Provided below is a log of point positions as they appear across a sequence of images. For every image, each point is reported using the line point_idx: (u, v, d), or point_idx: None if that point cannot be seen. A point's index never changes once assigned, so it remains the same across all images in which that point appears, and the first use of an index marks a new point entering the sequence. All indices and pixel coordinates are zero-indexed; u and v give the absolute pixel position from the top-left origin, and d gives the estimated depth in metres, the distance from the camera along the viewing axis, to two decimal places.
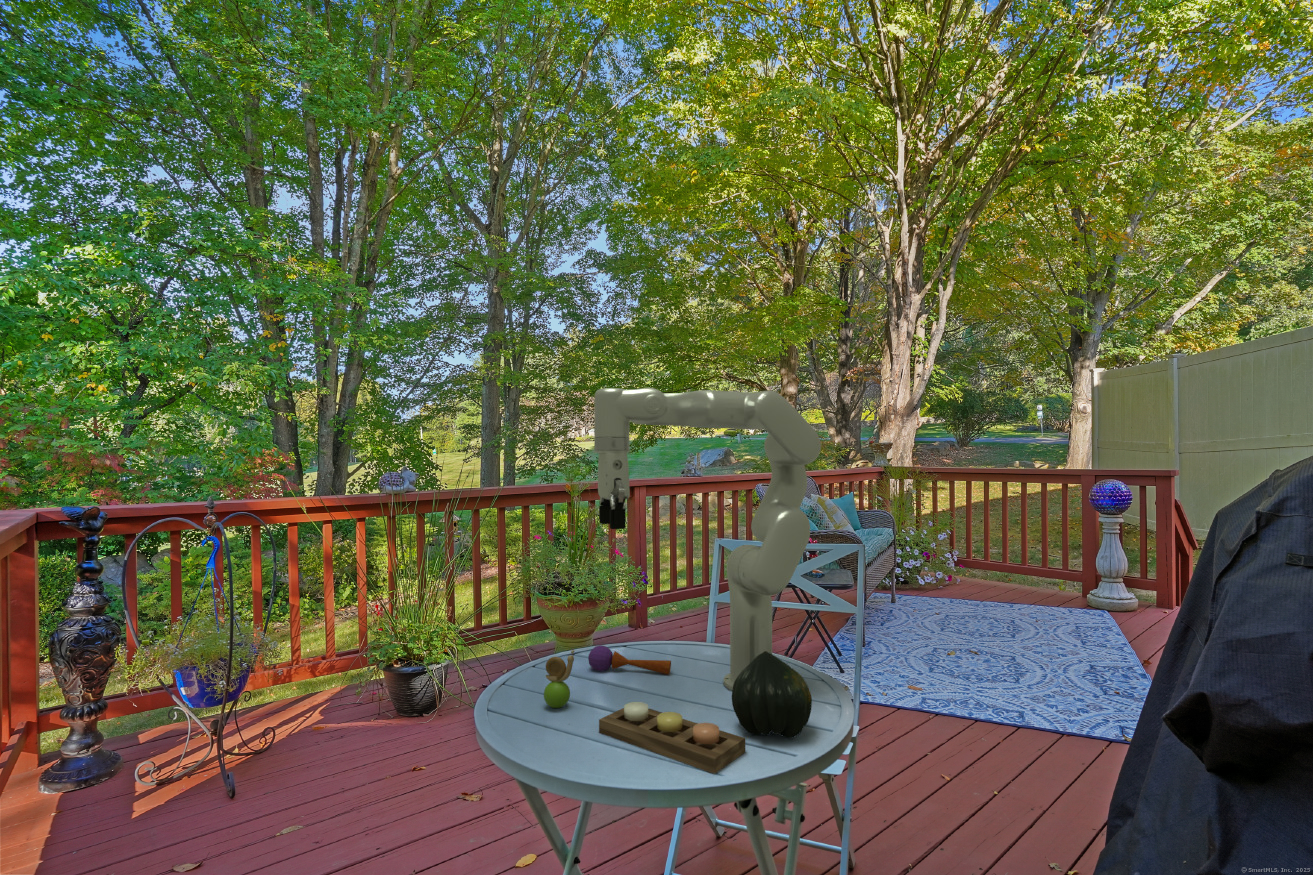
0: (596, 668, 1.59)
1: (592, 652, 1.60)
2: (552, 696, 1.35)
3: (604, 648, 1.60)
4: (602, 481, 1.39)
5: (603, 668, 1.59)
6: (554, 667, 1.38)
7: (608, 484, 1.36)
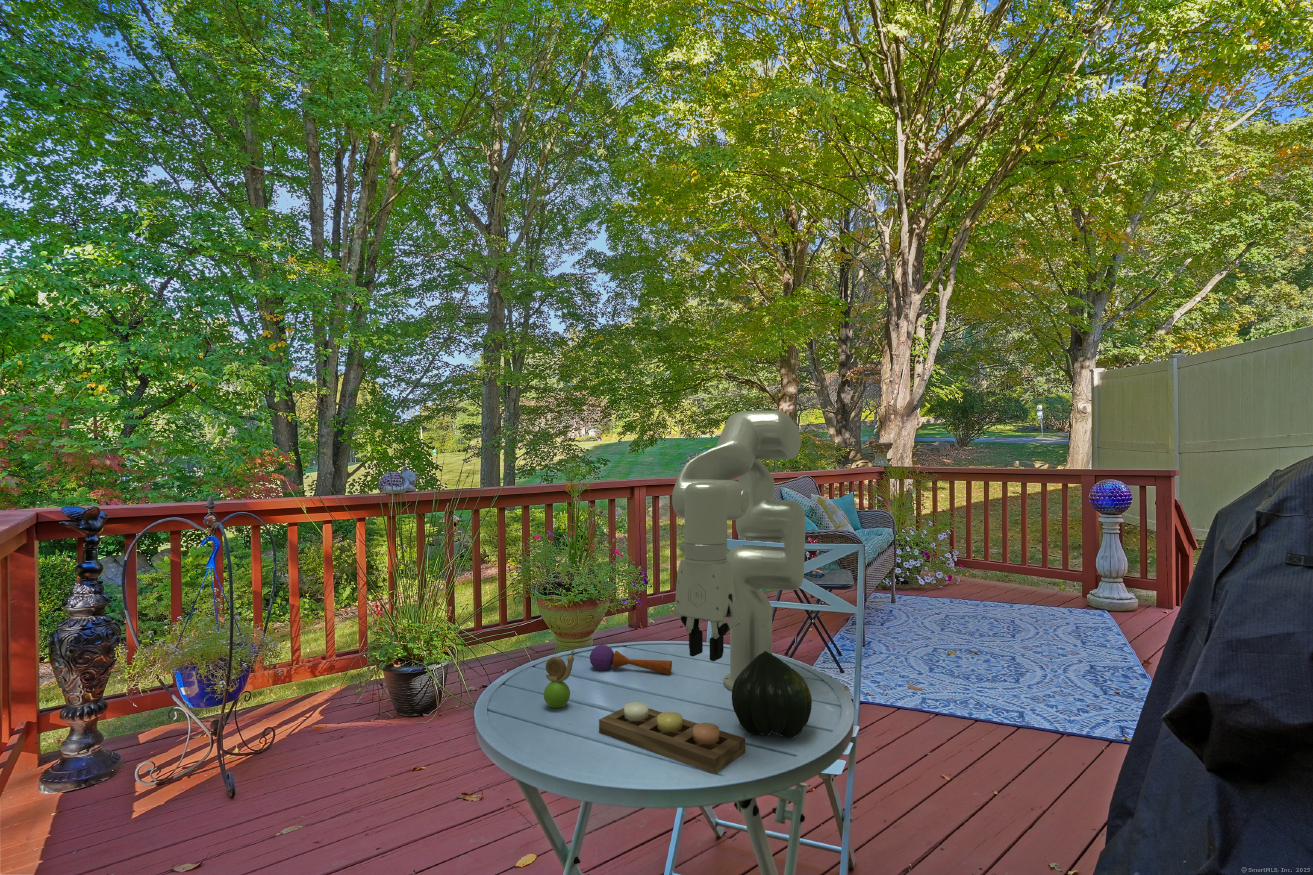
0: (597, 667, 1.60)
1: (593, 651, 1.60)
2: (552, 696, 1.35)
3: (605, 647, 1.61)
4: None
5: (604, 667, 1.59)
6: (554, 667, 1.38)
7: None
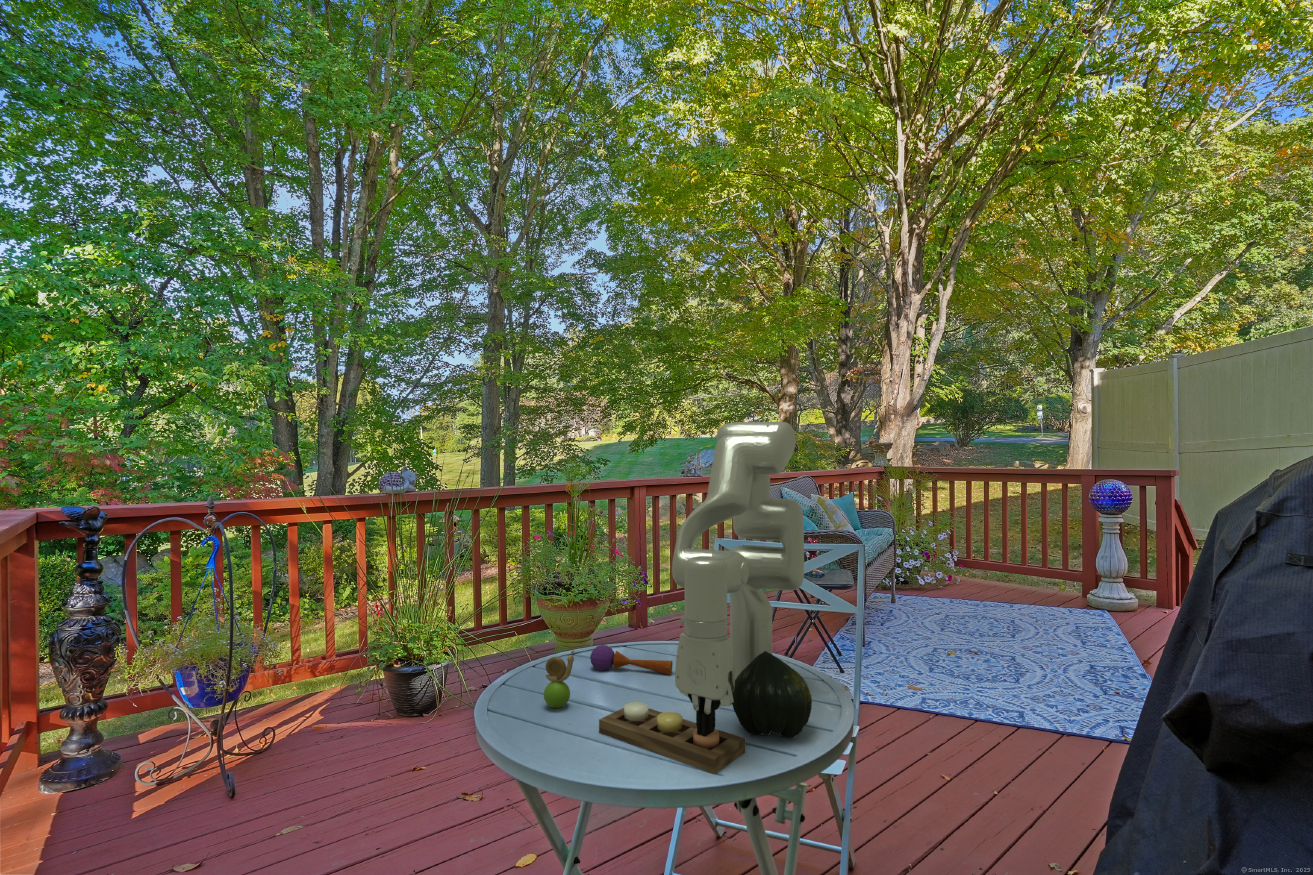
0: (598, 667, 1.59)
1: (594, 651, 1.60)
2: (552, 696, 1.35)
3: (606, 648, 1.61)
4: None
5: (605, 667, 1.59)
6: (554, 667, 1.38)
7: None
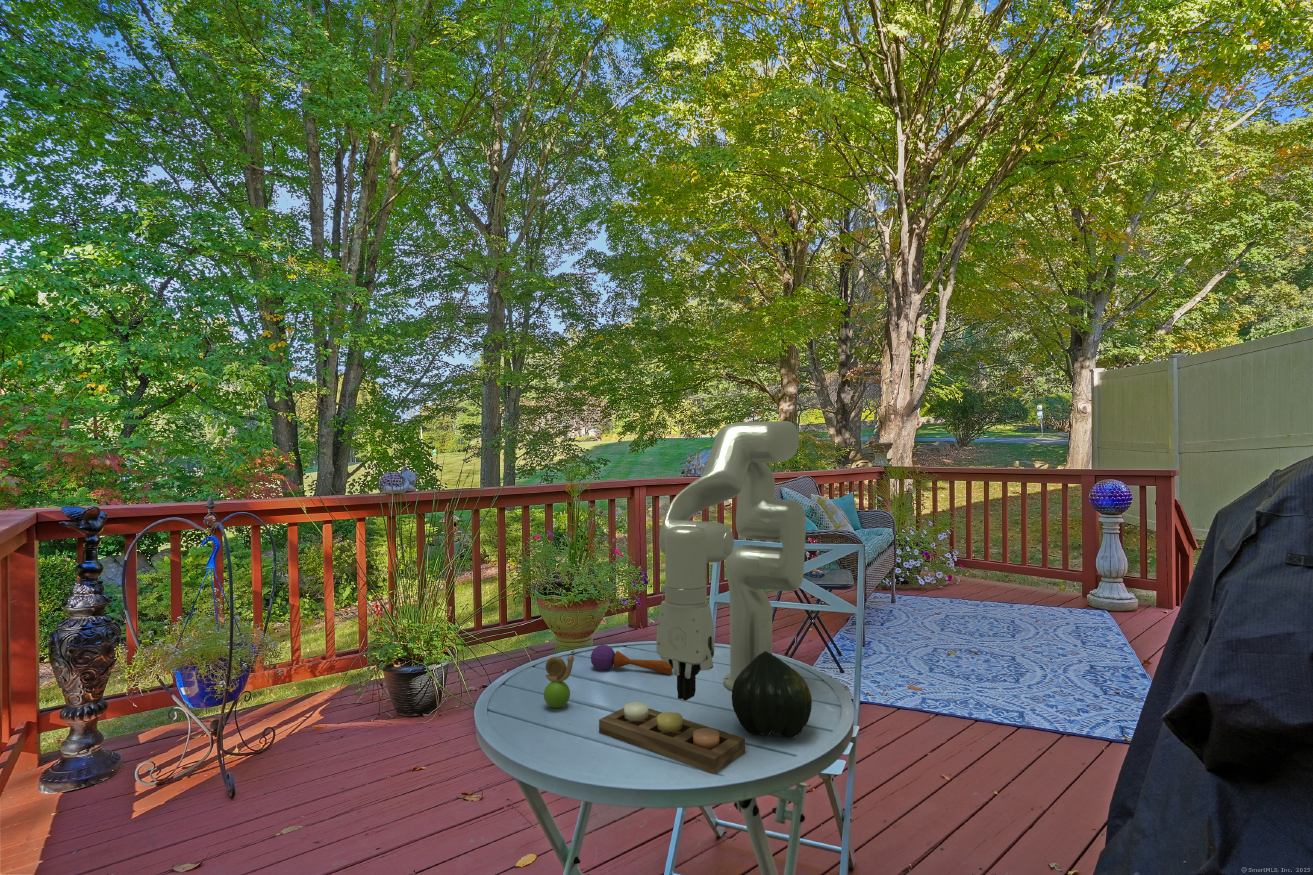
0: (598, 667, 1.59)
1: (594, 651, 1.60)
2: (552, 696, 1.35)
3: (606, 647, 1.61)
4: None
5: (605, 667, 1.59)
6: (554, 667, 1.38)
7: None
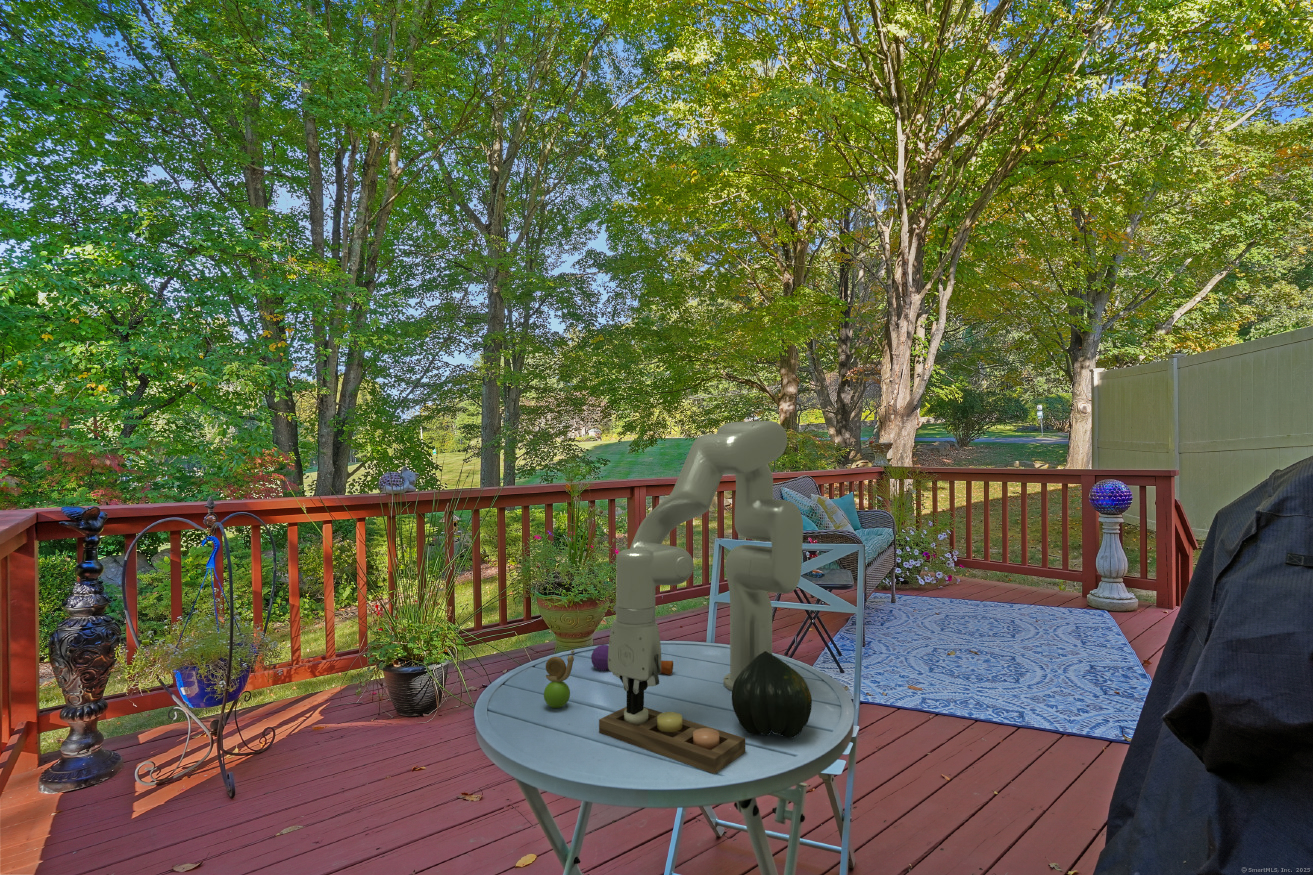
0: (598, 667, 1.59)
1: (595, 651, 1.60)
2: (552, 696, 1.35)
3: (607, 647, 1.61)
4: None
5: (606, 667, 1.59)
6: (554, 667, 1.38)
7: None
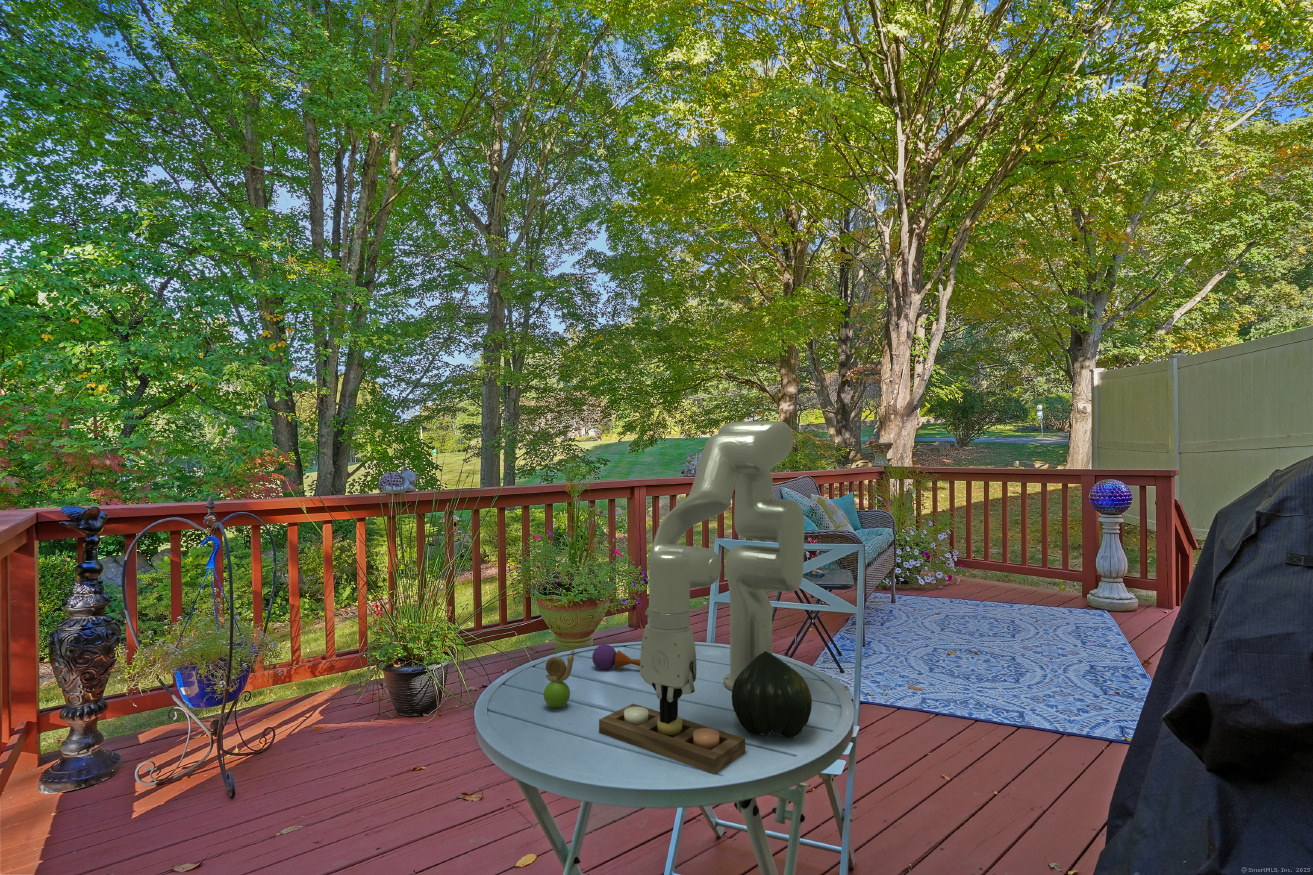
0: (599, 667, 1.60)
1: (596, 651, 1.61)
2: (552, 696, 1.35)
3: (608, 647, 1.61)
4: None
5: (606, 667, 1.60)
6: (554, 667, 1.38)
7: None
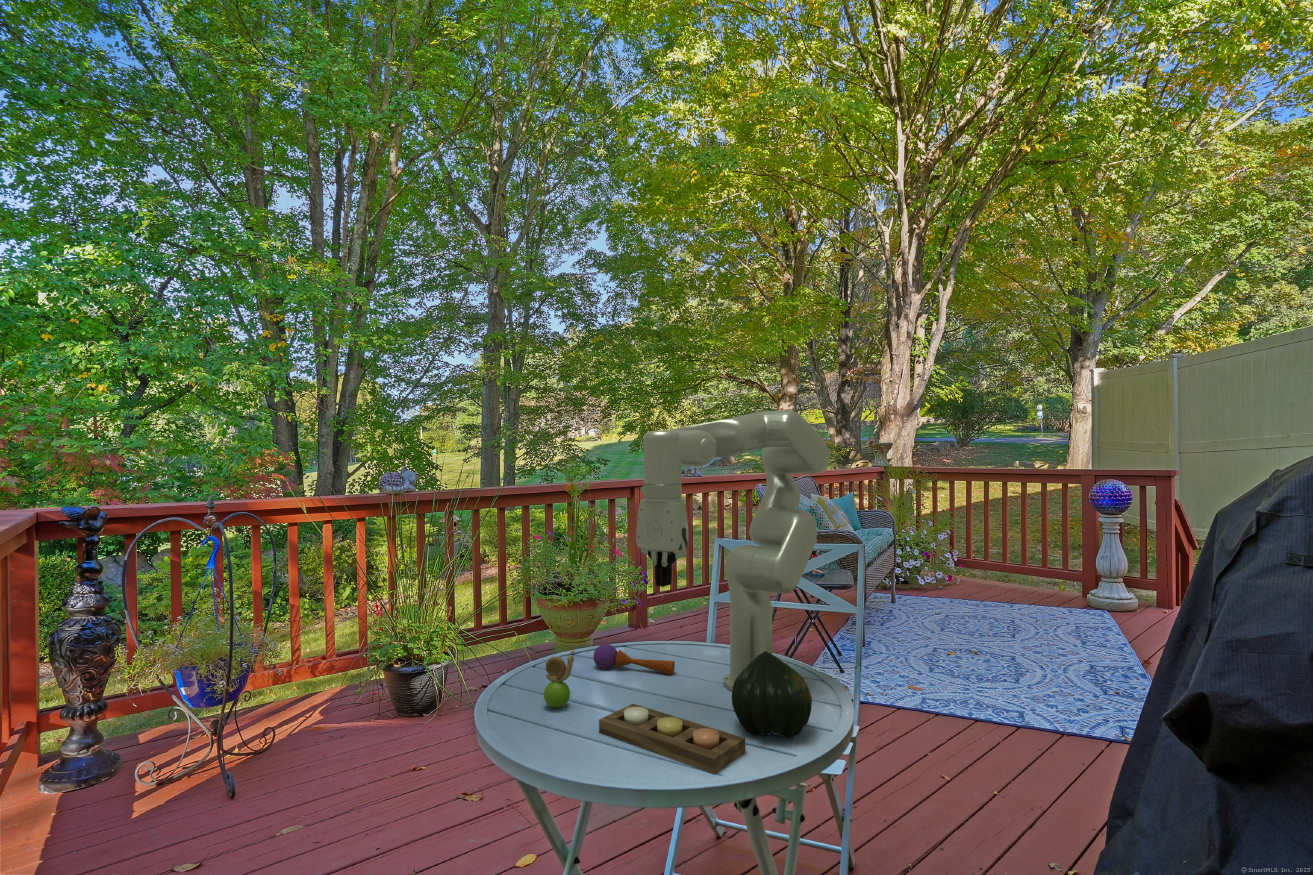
0: (600, 666, 1.60)
1: (597, 650, 1.61)
2: (552, 696, 1.35)
3: (609, 646, 1.62)
4: None
5: (607, 666, 1.60)
6: (554, 667, 1.38)
7: None
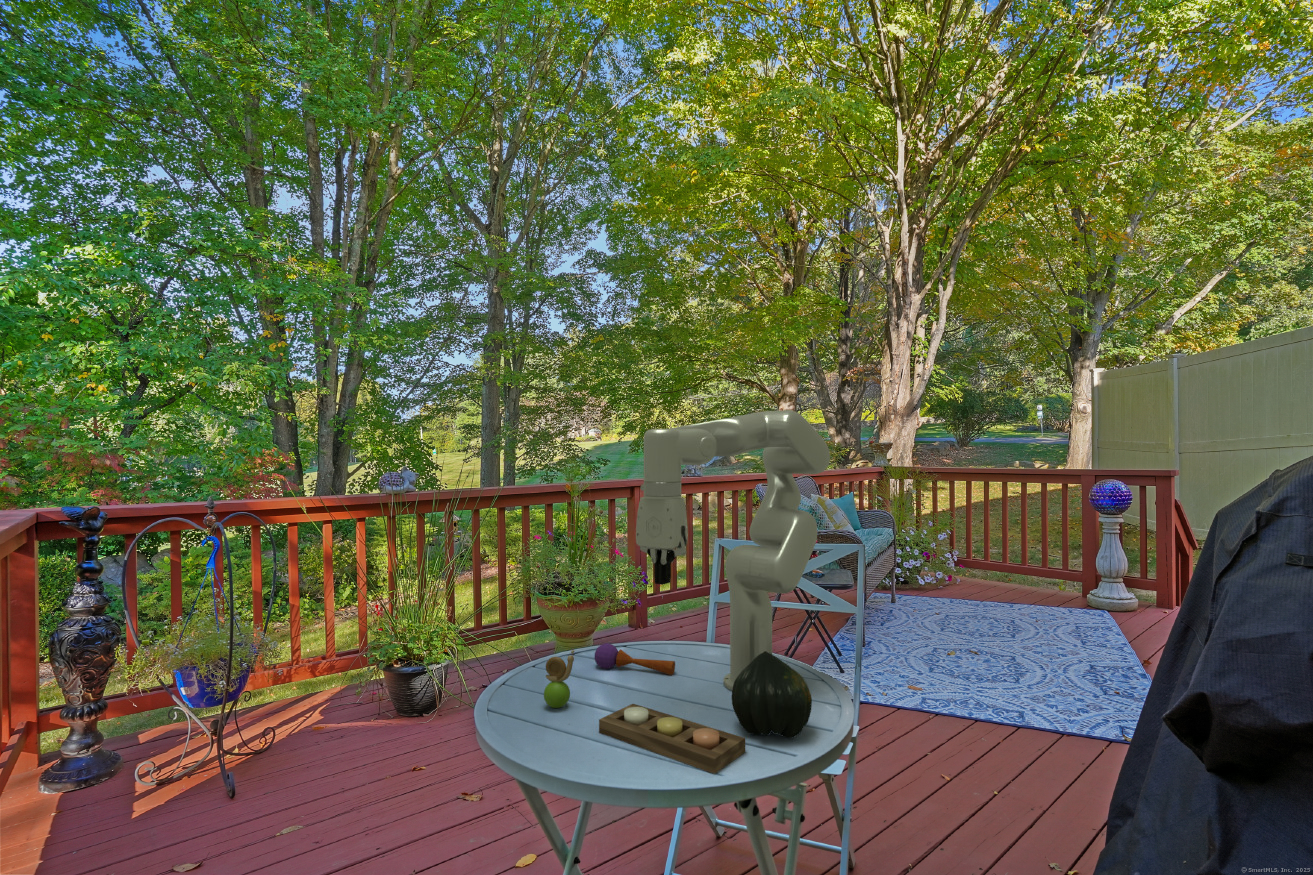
0: (601, 665, 1.61)
1: (597, 650, 1.62)
2: (552, 696, 1.35)
3: (609, 646, 1.62)
4: None
5: (608, 666, 1.60)
6: (554, 667, 1.38)
7: None
